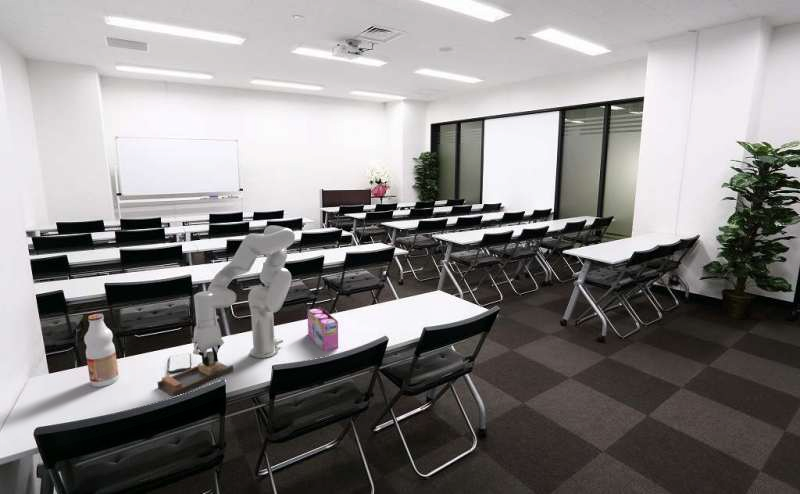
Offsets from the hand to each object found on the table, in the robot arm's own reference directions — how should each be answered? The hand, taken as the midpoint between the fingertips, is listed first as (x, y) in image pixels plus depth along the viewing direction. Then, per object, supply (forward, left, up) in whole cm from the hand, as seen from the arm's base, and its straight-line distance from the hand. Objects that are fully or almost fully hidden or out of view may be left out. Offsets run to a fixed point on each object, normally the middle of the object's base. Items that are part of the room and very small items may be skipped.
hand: (210, 362), depth 173 cm
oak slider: (0, 0, -4) cm, 4 cm away
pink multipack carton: (-51, +14, -5) cm, 53 cm away
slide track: (+6, 0, -5) cm, 8 cm away
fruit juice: (+29, -28, -5) cm, 40 cm away
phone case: (+3, -18, -6) cm, 19 cm away
